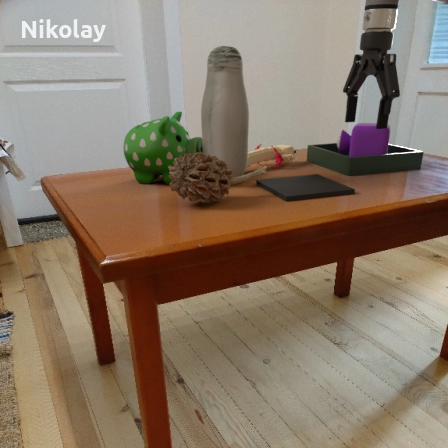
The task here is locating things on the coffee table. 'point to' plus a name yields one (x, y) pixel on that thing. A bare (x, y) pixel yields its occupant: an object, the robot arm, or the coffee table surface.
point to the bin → (364, 159)
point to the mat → (304, 187)
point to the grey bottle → (225, 110)
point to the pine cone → (204, 177)
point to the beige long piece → (271, 154)
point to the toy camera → (364, 140)
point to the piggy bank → (158, 147)
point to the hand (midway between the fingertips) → (364, 126)
